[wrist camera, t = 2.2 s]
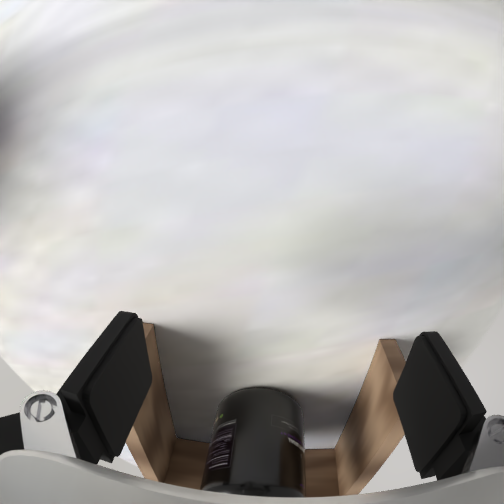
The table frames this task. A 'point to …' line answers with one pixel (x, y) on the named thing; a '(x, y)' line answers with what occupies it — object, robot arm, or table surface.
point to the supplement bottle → (257, 446)
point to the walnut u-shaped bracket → (316, 460)
